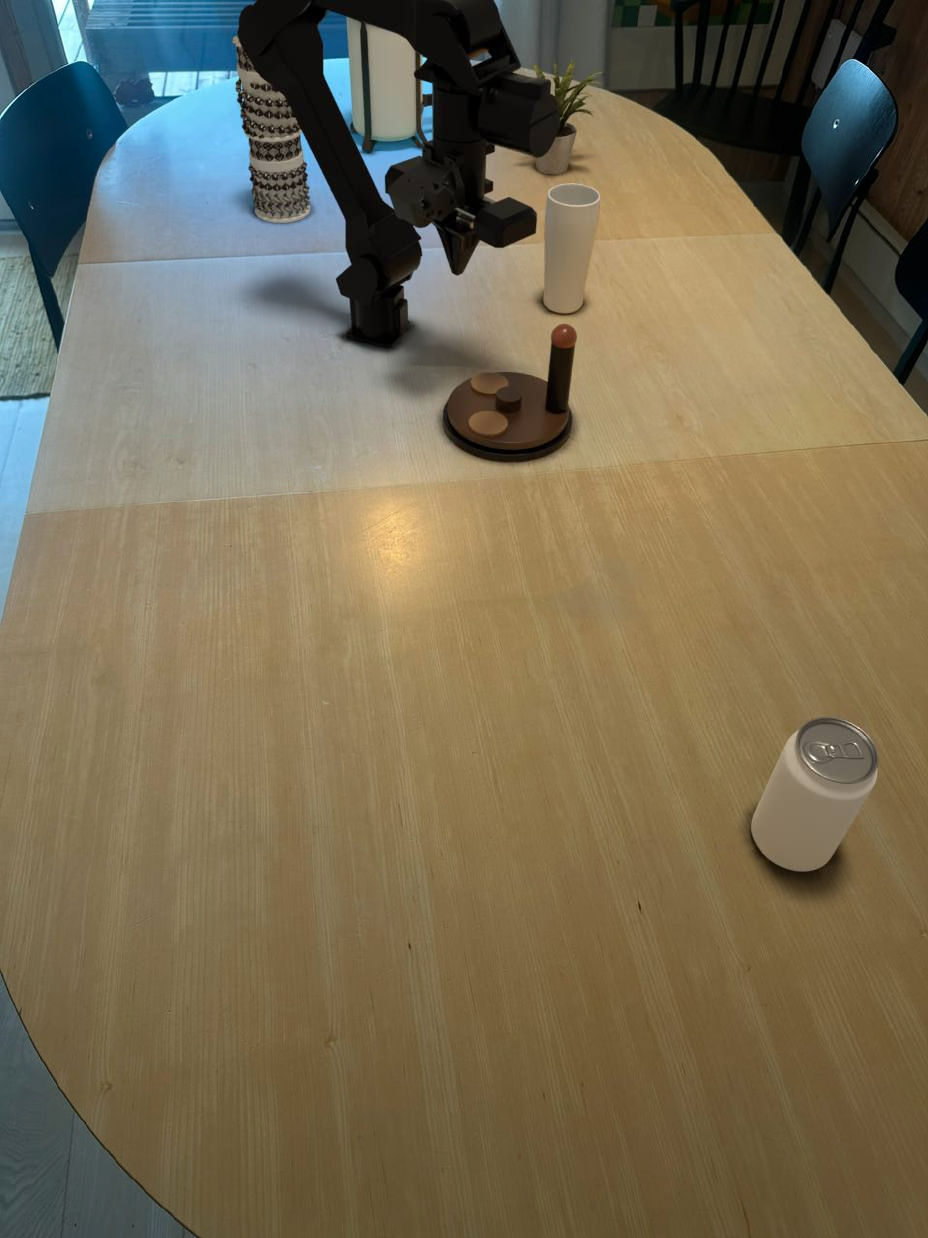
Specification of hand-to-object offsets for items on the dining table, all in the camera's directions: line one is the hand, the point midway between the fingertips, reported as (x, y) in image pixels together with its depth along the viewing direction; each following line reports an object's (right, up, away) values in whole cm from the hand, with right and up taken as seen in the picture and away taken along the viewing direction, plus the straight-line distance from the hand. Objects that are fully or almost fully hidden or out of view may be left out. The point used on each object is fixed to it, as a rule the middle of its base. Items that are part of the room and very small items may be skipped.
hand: (457, 273), depth 112 cm
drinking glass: (+14, +2, +19) cm, 24 cm away
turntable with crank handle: (+6, -16, 0) cm, 17 cm away
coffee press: (-11, +44, +57) cm, 73 cm away
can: (+27, -57, -36) cm, 72 cm away
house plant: (+16, +34, +49) cm, 62 cm away
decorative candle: (-27, +23, +37) cm, 51 cm away
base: (+6, -17, +1) cm, 18 cm away
